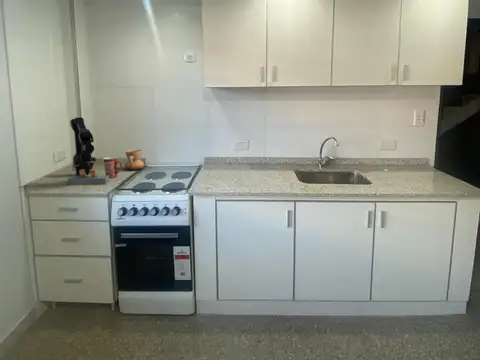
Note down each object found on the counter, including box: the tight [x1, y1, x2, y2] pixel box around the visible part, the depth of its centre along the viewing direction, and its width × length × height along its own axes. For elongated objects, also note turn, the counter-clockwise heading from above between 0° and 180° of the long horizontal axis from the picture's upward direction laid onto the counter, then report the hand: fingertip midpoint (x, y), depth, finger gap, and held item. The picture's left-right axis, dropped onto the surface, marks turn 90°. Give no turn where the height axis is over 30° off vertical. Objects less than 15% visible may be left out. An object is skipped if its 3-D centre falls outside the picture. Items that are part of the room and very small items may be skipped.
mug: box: [102, 156, 123, 179], centre depth 308 cm, size 13×9×14 cm
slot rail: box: [67, 174, 110, 186], centre depth 292 cm, size 9×24×4 cm, turn 92°
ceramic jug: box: [124, 149, 145, 171], centre depth 334 cm, size 18×14×14 cm
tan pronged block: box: [79, 168, 97, 178], centre depth 291 cm, size 4×10×6 cm, turn 92°
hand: (88, 174), depth 291 cm, fingers closed on tan pronged block, 3 cm apart
